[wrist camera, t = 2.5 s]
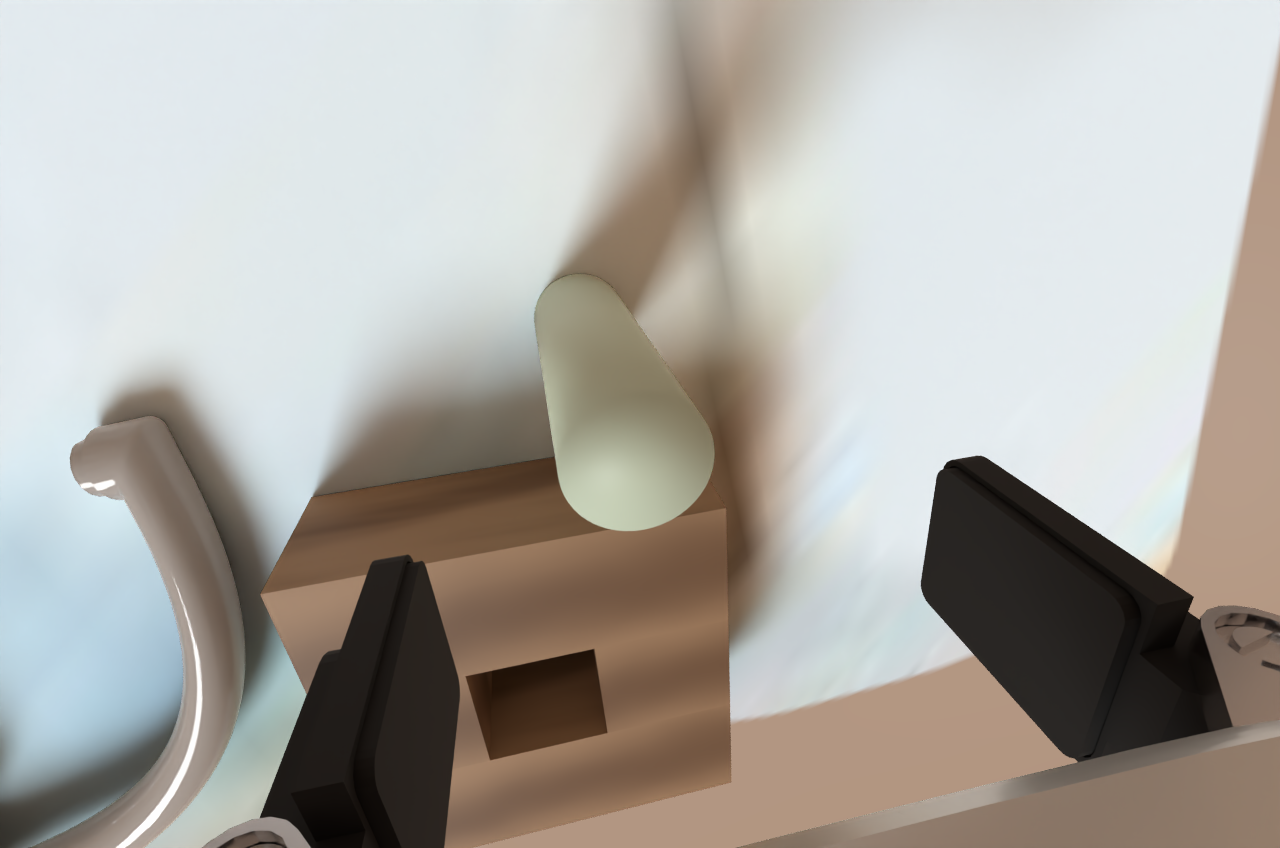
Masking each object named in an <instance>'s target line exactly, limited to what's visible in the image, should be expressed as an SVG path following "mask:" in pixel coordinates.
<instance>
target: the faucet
mask: <svg viewBox="0 0 1280 848" xmlns="http://www.w3.org/2000/svg"><path fill="white" fill-rule="evenodd" d="M70 466H71V471H72V473H73V476H74V478H75V480H76V481H77V482H78V484H79V485H80V486H81V488H82V489H84V490H85V491H87V492H88V493H90V494H92V495H96V496H99V497H101V496H107V497H109V498H111V499H116V500H124V501H125V503H126V505H127V506H128V508H129V510H130V512H131V514H132V516H133V518H134V520H135V522H136V523H137V525H138V527H139V529H140V531H141V533H142V535H143V537H144V539H145V541H146V543H147V545H148V547H149V549H150V551H151V554H152V556H153V558H154V560H155V563H156V565H157V567H158V570H159V572H160V574H161V577H162V580H163V582H164V585H165V587H166V590H167V593H168V596H169V599H170V602H171V605H172V609H173V612H174V616H175V620H176V624H177V629H178V633H179V638H180V645H181V651H182V661H183V690H182V699H181V705H180V710H179V714H178V717H177V721H176V724H175V727H174V730H173V732H172V734H171V737H170V739H169V741H168V743H167V745H166V747H165V748H164V750H163V752H162V753H161V755H160V756H159V758H158V759H157V760H156V762H155V763H154V765H153V766H152V767H151V768H150V769H149V771H148V772H147V773H146V774H145V775H144V776H143V777H142V778H141V779H140V780H139V781H138V782H137V783H136V784H135V785H134V786H133V787H132V788H131V789H129V790H128V791H127V792H126V793H125V794H123V795H122V796H121V797H119V798H118V799H117V800H115V801H114V802H113V803H111V804H110V805H109V806H107V807H106V808H104V809H103V810H101V811H100V812H98V813H96V814H95V815H93V816H92V817H90V818H88V819H86V820H85V821H83V822H81V823H79V824H78V825H76V826H74V827H72V828H70V829H68V830H66V831H64V832H62V833H60V834H58V835H56V836H54V837H52V838H50V839H47V840H45V841H43V842H41V843H39V844H36V845H34V846H32V847H29V848H144V847H146V846H147V845H148V844H149V843H151V842H152V841H153V840H154V839H155V838H157V837H158V836H159V835H160V834H161V833H162V832H163V831H164V830H165V829H167V828H168V827H169V826H170V825H171V824H172V823H173V822H174V821H175V820H176V819H177V818H178V817H179V816H180V815H181V814H182V813H183V811H184V810H185V809H186V808H187V807H188V806H189V805H190V804H191V802H192V801H193V800H194V799H195V797H196V796H197V795H198V794H199V792H200V791H201V790H202V788H203V787H204V785H205V784H206V782H207V781H208V780H209V778H210V777H211V775H212V774H213V772H214V770H215V769H216V767H217V765H218V763H219V762H220V760H221V758H222V756H223V754H224V752H225V750H226V747H227V745H228V743H229V740H230V738H231V736H232V733H233V730H234V727H235V724H236V721H237V717H238V714H239V710H240V706H241V701H242V695H243V689H244V679H245V663H246V652H245V635H244V626H243V619H242V612H241V607H240V602H239V597H238V592H237V588H236V584H235V580H234V577H233V573H232V570H231V567H230V563H229V560H228V557H227V554H226V552H225V549H224V546H223V543H222V540H221V538H220V535H219V533H218V530H217V528H216V525H215V523H214V521H213V518H212V516H211V514H210V511H209V509H208V507H207V505H206V502H205V500H204V498H203V496H202V494H201V492H200V490H199V488H198V486H197V484H196V481H195V479H194V477H193V475H192V474H191V472H190V470H189V468H188V466H187V464H186V462H185V460H184V458H183V456H182V454H181V452H180V450H179V448H178V446H177V444H176V442H175V440H174V438H173V436H172V434H171V432H170V430H169V429H168V427H167V425H166V423H165V422H164V421H163V420H161V419H160V418H158V417H155V416H146V417H141V418H136V419H132V420H127V421H122V422H118V423H113V424H108V425H103V426H99V427H96V428H95V429H93V430H92V431H90V433H89V434H88V435H87V436H86V438H85V439H84V440H83V441H81V442H79V443H77V444H75V445H74V447H73V448H72V451H71V455H70Z"/></svg>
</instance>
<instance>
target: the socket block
mask: <svg viewBox="0 0 1280 848" xmlns="http://www.w3.org/2000/svg"><path fill="white" fill-rule="evenodd" d="M402 555H410V556H411V558H412V559H413V562H418V561H423V562H424V563H425V566H426V568H427V572H428V575H429V579H430V582H431V585H432V589H433V592H434V595H435V599H436V602H437V606H438V609H439V612H440V616H441V619H442V623H443V626H444V629H445V633H446V636H447V640H448V643H449V646H450V650H451V653H452V657H453V660H454V663H455V667H456V670H457V674H458V678H459V684H460V702H459V712H458V721H457V731H456V741H455V750H454V760H453V769H452V779H451V788H450V798H449V808H448V817H447V827H446V836H445V846H444V848H473V847H477V846H481V845H485V844H489V843H493V842H497V841H501V840H505V839H509V838H513V837H517V836H521V835H525V834H529V833H533V832H537V831H541V830H545V829H549V828H552V827H556V826H561V825H564V824H568V823H572V822H576V821H580V820H584V819H588V818H592V817H596V816H600V815H604V814H608V813H612V812H616V811H620V810H624V809H628V808H632V807H636V806H640V805H643V804H648V803H652V802H655V801H659V800H663V799H667V798H671V797H675V796H679V795H683V794H687V793H691V792H695V791H699V790H703V789H707V788H710V787H715V786H718V785H723V784H726V783H730V782H731V739H730V738H731V737H730V682H729V628H728V573H727V519H726V507H725V505H724V503H723V502H722V500H721V498H720V497H719V495H718V493H717V491H716V490H715V488H714V486H713V485H712V483H711V481H710V480H709V481H708V483H707V485H706V487H705V489H704V490H703V492H702V493H701V495H700V496H699V497H698V498H697V500H696V501H695V502H694V503H693V504H692V505H691V506H690V507H689V508H688V509H687V510H685V511H684V512H683V513H681V514H680V515H679V516H677V517H675V518H674V519H672V520H670V521H668V522H666V523H664V524H662V525H659V526H656V527H653V528H649V529H645V530H638V531H618V530H611V529H607V528H603V527H601V526H598V525H595V524H593V523H591V522H589V521H588V520H586V519H585V518H583V517H582V516H580V515H579V514H578V513H577V512H576V511H575V510H574V509H573V508H572V507H571V505H570V504H569V503H568V501H567V500H566V498H565V496H564V494H563V492H562V490H561V487H560V483H559V479H558V473H557V466H556V460H555V457H551V458H545V459H539V460H533V461H527V462H521V463H515V464H509V465H503V466H497V467H491V468H485V469H479V470H473V471H467V472H461V473H455V474H449V475H443V476H437V477H431V478H425V479H419V480H413V481H407V482H401V483H395V484H389V485H382V486H376V487H370V488H364V489H358V490H352V491H346V492H340V493H334V494H328V495H322V496H316V497H311V499H310V501H309V503H308V505H307V507H306V509H305V511H304V512H303V514H302V516H301V518H300V520H299V522H298V524H297V526H296V528H295V529H294V531H293V533H292V535H291V537H290V539H289V541H288V543H287V545H286V546H285V548H284V550H283V552H282V554H281V556H280V558H279V560H278V562H277V563H276V565H275V567H274V569H273V571H272V573H271V575H270V577H269V579H268V580H267V582H266V584H265V586H264V588H263V590H262V592H261V594H260V595H261V598H262V600H263V602H264V604H265V606H266V608H267V610H268V612H269V615H270V617H271V619H272V621H273V623H274V625H275V627H276V630H277V632H278V634H279V636H280V638H281V640H282V642H283V644H284V647H285V649H286V651H287V653H288V655H289V657H290V659H291V662H292V664H293V666H294V668H295V670H296V672H297V674H298V676H299V679H300V681H301V683H302V685H303V687H304V689H305V691H306V694H307V693H308V691H309V688H310V685H311V683H312V680H313V678H314V675H315V672H316V670H317V667H318V664H319V662H320V661H321V659H322V657H323V655H324V654H326V653H327V652H328V651H333V650H338V649H341V647H342V644H343V642H344V639H345V636H346V633H347V630H348V627H349V624H350V622H351V619H352V616H353V613H354V610H355V607H356V604H357V602H358V599H359V596H360V593H361V590H362V587H363V584H364V582H365V579H366V576H367V573H368V570H369V567H370V565H371V563H372V562H373V561H374V560H379V559H385V558H390V557H396V556H402Z"/></svg>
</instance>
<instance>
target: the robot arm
mask: <svg viewBox="0 0 1280 848" xmlns="http://www.w3.org/2000/svg"><path fill="white" fill-rule="evenodd" d="M921 589H922V593H923V595H924V597H925V599H926V601H927V602H928V604H929V605H930V606H931V607H932V608H933V609H934V610H935V611H936V613H937V614H938V615H939V616H940V617H941V618H942V619H943V620H944V622H945V623H946V624H947V625H948V626H949V627H950V628H951V629H952V630H953V632H954V633H955V634H956V635H957V636H958V637H959V638H960V639H961V641H962V642H963V643H964V644H965V645H966V646H967V647H968V648H969V650H970V651H971V652H972V653H973V654H974V655H975V656H976V657H977V658H978V659H979V661H980V662H981V663H982V664H983V665H984V666H985V667H986V668H987V670H988V671H990V673H991V674H992V675H993V676H994V677H995V678H996V679H997V681H998V682H999V683H1000V684H1001V685H1002V686H1003V688H1004V689H1005V690H1006V691H1007V692H1008V693H1009V694H1010V695H1011V696H1012V698H1013V699H1014V700H1015V701H1016V702H1017V703H1018V704H1019V705H1020V707H1021V708H1022V709H1023V710H1024V711H1025V712H1026V713H1027V714H1028V715H1029V717H1030V718H1031V719H1032V720H1033V721H1034V722H1035V723H1036V724H1037V726H1038V727H1039V728H1040V729H1041V730H1042V731H1043V732H1044V733H1045V735H1046V736H1047V737H1048V738H1049V739H1050V740H1051V741H1052V742H1053V743H1054V745H1055V746H1056V747H1057V748H1058V749H1059V750H1060V751H1061V752H1062V753H1063V754H1065V755H1066V756H1068V757H1071V758H1075V759H1076V760H1077V761H1078V763H1074V764H1070V765H1066V766H1062V767H1058V768H1053V769H1049V770H1045V771H1041V772H1037V773H1033V774H1029V775H1025V776H1021V777H1016V778H1013V779H1009V780H1004V781H1000V782H996V783H992V784H988V785H984V786H980V787H976V788H972V789H968V790H964V791H960V792H956V793H952V794H948V795H944V796H940V797H936V798H932V799H928V800H924V801H919V802H916V803H911V804H908V805H903V806H899V807H896V808H892V809H887V810H883V811H879V812H876V813H872V814H868V815H864V816H860V817H856V818H852V819H848V820H844V821H840V822H836V823H832V824H828V825H824V826H820V827H816V828H812V829H808V830H804V831H800V832H796V833H793V834H788V835H784V836H780V837H776V838H772V839H769V840H765V841H761V842H757V843H753V844H749V845H745V846H741V847H737V848H1280V616H1278V615H1276V614H1273V613H1269V612H1265V611H1262V610H1259V609H1255V608H1248V607H1242V606H1218V607H1214V608H1211V609H1208V610H1206V612H1205V613H1204V614H1203V615H1202V616H1201V618H1200V620H1199V619H1198V618H1196V617H1195V616H1193V615H1192V614H1190V613H1189V612H1188V610H1189V608H1190V605H1191V603H1192V600H1193V598H1194V597H1193V596H1192V595H1190V594H1189V593H1187V592H1186V591H1184V590H1183V589H1181V588H1180V587H1178V586H1177V585H1175V584H1174V583H1172V582H1171V581H1169V580H1168V579H1166V578H1165V577H1163V576H1162V575H1160V574H1159V573H1157V572H1156V571H1154V570H1153V569H1151V568H1150V567H1148V566H1147V565H1145V564H1144V563H1142V562H1141V561H1140V560H1138V559H1137V558H1135V557H1134V556H1132V555H1131V554H1129V553H1128V552H1126V551H1125V550H1123V549H1122V548H1120V547H1119V546H1117V545H1116V544H1114V543H1113V542H1111V541H1110V540H1108V539H1107V538H1105V537H1104V536H1102V535H1101V534H1099V533H1098V532H1096V531H1095V530H1093V529H1092V528H1090V527H1089V526H1087V525H1086V524H1084V523H1083V522H1081V521H1080V520H1078V519H1077V518H1075V517H1074V516H1072V515H1071V514H1069V513H1068V512H1066V511H1065V510H1063V509H1062V508H1060V507H1059V506H1057V505H1056V504H1054V503H1053V502H1051V501H1050V500H1048V499H1047V498H1045V497H1044V496H1042V495H1041V494H1039V493H1038V492H1036V491H1035V490H1033V489H1032V488H1031V487H1029V486H1028V485H1026V484H1025V483H1023V482H1022V481H1020V480H1019V479H1017V478H1016V477H1014V476H1013V475H1011V474H1010V473H1008V472H1007V471H1005V470H1004V469H1002V468H1001V467H999V466H998V465H996V464H995V463H993V462H992V461H990V460H989V459H987V458H985V457H983V456H973V457H967V458H961V459H955V460H951V461H949V462H947V463H946V465H945V466H944V469H943V470H941V471H940V472H939V473H938V475H937V479H936V485H935V492H934V499H933V505H932V512H931V519H930V525H929V532H928V539H927V545H926V552H925V559H924V565H923V572H922V579H921ZM459 702H460V684H459V678H458V674H457V670H456V667H455V663H454V660H453V657H452V653H451V650H450V646H449V643H448V640H447V636H446V633H445V629H444V626H443V623H442V619H441V616H440V612H439V609H438V606H437V602H436V599H435V595H434V592H433V589H432V585H431V582H430V579H429V575H428V572H427V568H426V566H425V563H424V562H423V561H418V562H413V559H412V558H411V556H410V555H402V556H396V557H390V558H385V559H379V560H374V561H373V562H372V563H371V565H370V567H369V570H368V573H367V576H366V579H365V582H364V584H363V587H362V590H361V593H360V596H359V599H358V602H357V604H356V607H355V610H354V613H353V616H352V619H351V622H350V624H349V627H348V630H347V633H346V636H345V639H344V642H343V644H342V647H341V649H338V650H333V651H328V652H327V653H326V654H324V655H323V657H322V659H321V661H320V662H319V664H318V667H317V670H316V672H315V675H314V678H313V680H312V683H311V685H310V688H309V691H308V693H307V696H306V698H305V701H304V704H303V706H302V709H301V711H300V714H299V717H298V719H297V722H296V725H295V727H294V730H293V732H292V735H291V738H290V740H289V743H288V745H287V748H286V751H285V753H284V756H283V758H282V761H281V764H280V766H279V769H278V772H277V774H276V777H275V779H274V782H273V785H272V787H271V790H270V792H269V795H268V798H267V800H266V803H265V805H264V808H263V811H262V813H261V816H260V818H259V819H252V820H249V821H247V822H244V823H242V824H239V825H237V826H234V827H232V828H230V829H228V830H226V831H225V832H223V833H222V834H220V835H219V836H217V837H216V838H214V839H212V840H211V841H209V842H208V843H207V844H206V845H204V846H203V847H202V848H444V846H445V836H446V827H447V817H448V808H449V798H450V788H451V779H452V769H453V760H454V750H455V741H456V731H457V721H458V712H459Z"/></svg>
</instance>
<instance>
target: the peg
mask: <svg viewBox="0 0 1280 848" xmlns="http://www.w3.org/2000/svg"><path fill="white" fill-rule="evenodd" d="M534 323H535V330H536V337H537V343H538V350H539V356H540V363H541V369H542V376H543V382H544V389H545V395H546V402H547V408H548V415H549V421H550V427H551V434H552V440H553V447H554V453H555V460H556V466H557V473H558V479H559V483H560V487H561V490H562V492H563V494H564V496H565V498H566V500H567V501H568V503H569V504H570V505H571V507H572V508H573V509H574V510H575V511H576V512H577V513H578V514H579V515H580V516H582V517H583V518H585V519H586V520H588V521H589V522H591V523H593V524H595V525H598V526H601V527H603V528H607V529H611V530H618V531H638V530H645V529H649V528H653V527H656V526H659V525H662V524H664V523H666V522H668V521H670V520H672V519H674V518H675V517H677V516H679V515H680V514H681V513H683V512H684V511H685V510H687V509H688V508H689V507H690V506H691V505H692V504H693V503H694V502H695V501H696V500H697V498H698V497H699V496H700V495H701V493H702V492H703V490H704V489H705V487H706V485H707V483H708V481H709V479H710V476H711V473H712V470H713V465H714V456H715V449H714V441H713V438H712V434H711V431H710V429H709V427H708V425H707V423H706V422H705V420H704V418H703V417H702V415H701V414H700V413H699V411H698V410H697V408H696V407H695V405H694V404H693V402H692V401H691V400H690V398H689V397H688V395H687V394H686V392H685V391H684V389H683V388H682V387H681V385H680V384H679V382H678V381H677V379H676V378H675V376H674V375H673V374H672V372H671V371H670V369H669V368H668V366H667V365H666V363H665V362H664V361H663V359H662V358H661V356H660V355H659V353H658V352H657V350H656V349H655V348H654V346H653V345H652V343H651V342H650V340H649V339H648V337H647V336H646V335H645V333H644V332H643V330H642V329H641V327H640V326H639V324H638V323H637V322H636V320H635V319H634V317H633V316H632V314H631V313H630V311H629V310H628V309H627V307H626V306H625V304H624V303H623V301H622V300H621V298H620V297H619V296H618V294H617V293H616V291H615V290H614V289H613V288H612V287H611V286H610V285H609V284H608V283H607V282H605V281H604V280H602V279H600V278H598V277H595V276H593V275H588V274H571V275H567V276H564V277H561V278H559V279H557V280H556V281H554V282H553V283H551V284H550V285H549V286H548V287H547V288H546V289H545V290H544V291H543V293H542V294H541V296H540V297H539V299H538V302H537V304H536V307H535V313H534Z"/></svg>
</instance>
